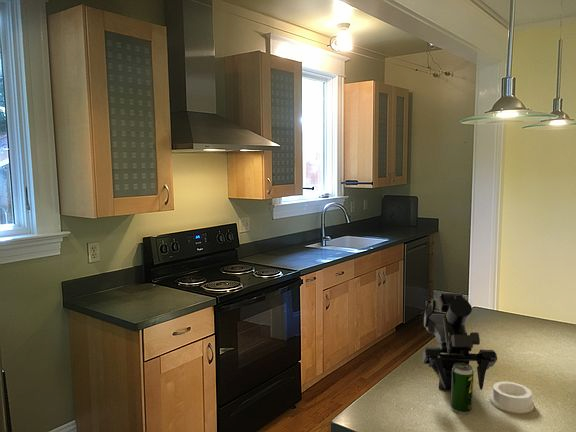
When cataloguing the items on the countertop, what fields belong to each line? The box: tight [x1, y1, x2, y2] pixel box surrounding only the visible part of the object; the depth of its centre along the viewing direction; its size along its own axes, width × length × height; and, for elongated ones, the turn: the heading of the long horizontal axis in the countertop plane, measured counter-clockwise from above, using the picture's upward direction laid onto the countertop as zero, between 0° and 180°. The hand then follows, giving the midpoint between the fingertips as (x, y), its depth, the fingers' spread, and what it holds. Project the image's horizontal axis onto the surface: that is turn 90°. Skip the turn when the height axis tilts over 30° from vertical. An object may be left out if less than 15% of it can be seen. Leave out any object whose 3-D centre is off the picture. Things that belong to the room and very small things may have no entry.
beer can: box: [450, 363, 475, 415], centre depth 127 cm, size 5×5×12 cm
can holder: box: [489, 380, 535, 415], centre depth 131 cm, size 11×11×4 cm
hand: (463, 388), depth 126 cm, fingers open, 9 cm apart
